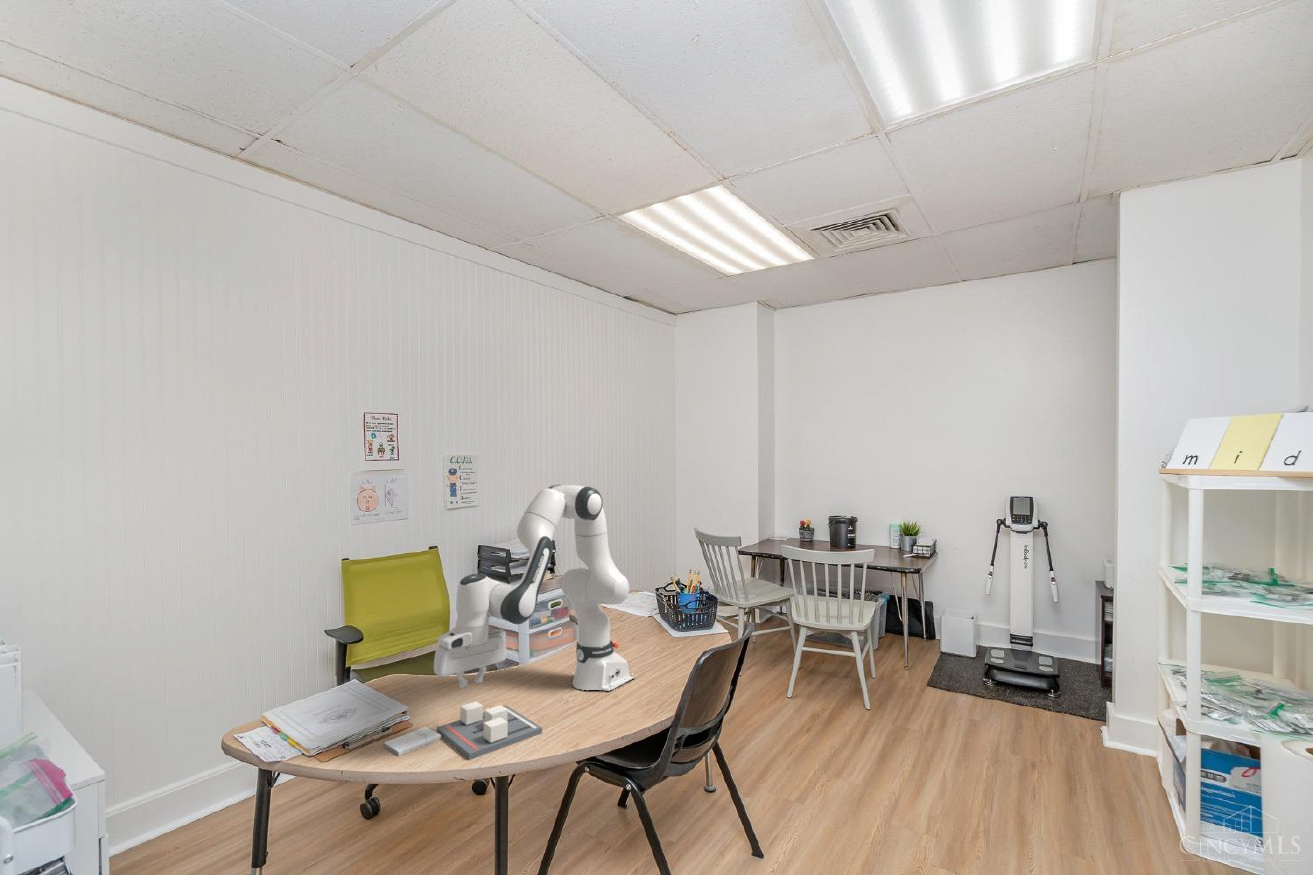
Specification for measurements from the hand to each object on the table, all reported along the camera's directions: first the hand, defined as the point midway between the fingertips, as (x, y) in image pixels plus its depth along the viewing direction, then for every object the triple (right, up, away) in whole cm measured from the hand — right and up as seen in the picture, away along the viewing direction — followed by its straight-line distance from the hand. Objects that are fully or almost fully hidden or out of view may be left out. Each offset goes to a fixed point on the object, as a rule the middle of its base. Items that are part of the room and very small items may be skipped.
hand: (470, 684), depth 165 cm
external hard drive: (-15, -16, -2) cm, 22 cm away
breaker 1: (-2, -13, +7) cm, 15 cm away
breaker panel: (+4, -15, +4) cm, 16 cm away
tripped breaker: (+6, -13, +5) cm, 15 cm away
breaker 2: (+8, -13, -3) cm, 15 cm away
